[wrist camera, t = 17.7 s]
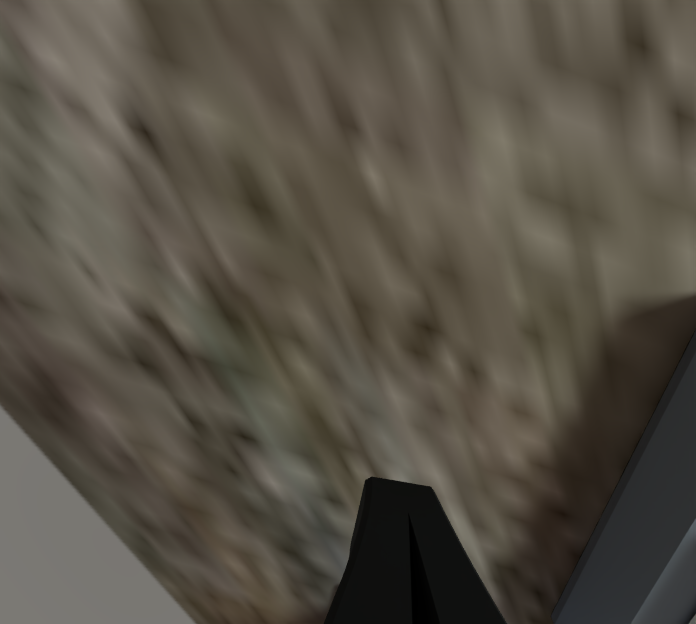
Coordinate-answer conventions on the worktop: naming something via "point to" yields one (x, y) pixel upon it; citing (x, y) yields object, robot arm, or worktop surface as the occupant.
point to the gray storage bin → (646, 525)
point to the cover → (693, 620)
